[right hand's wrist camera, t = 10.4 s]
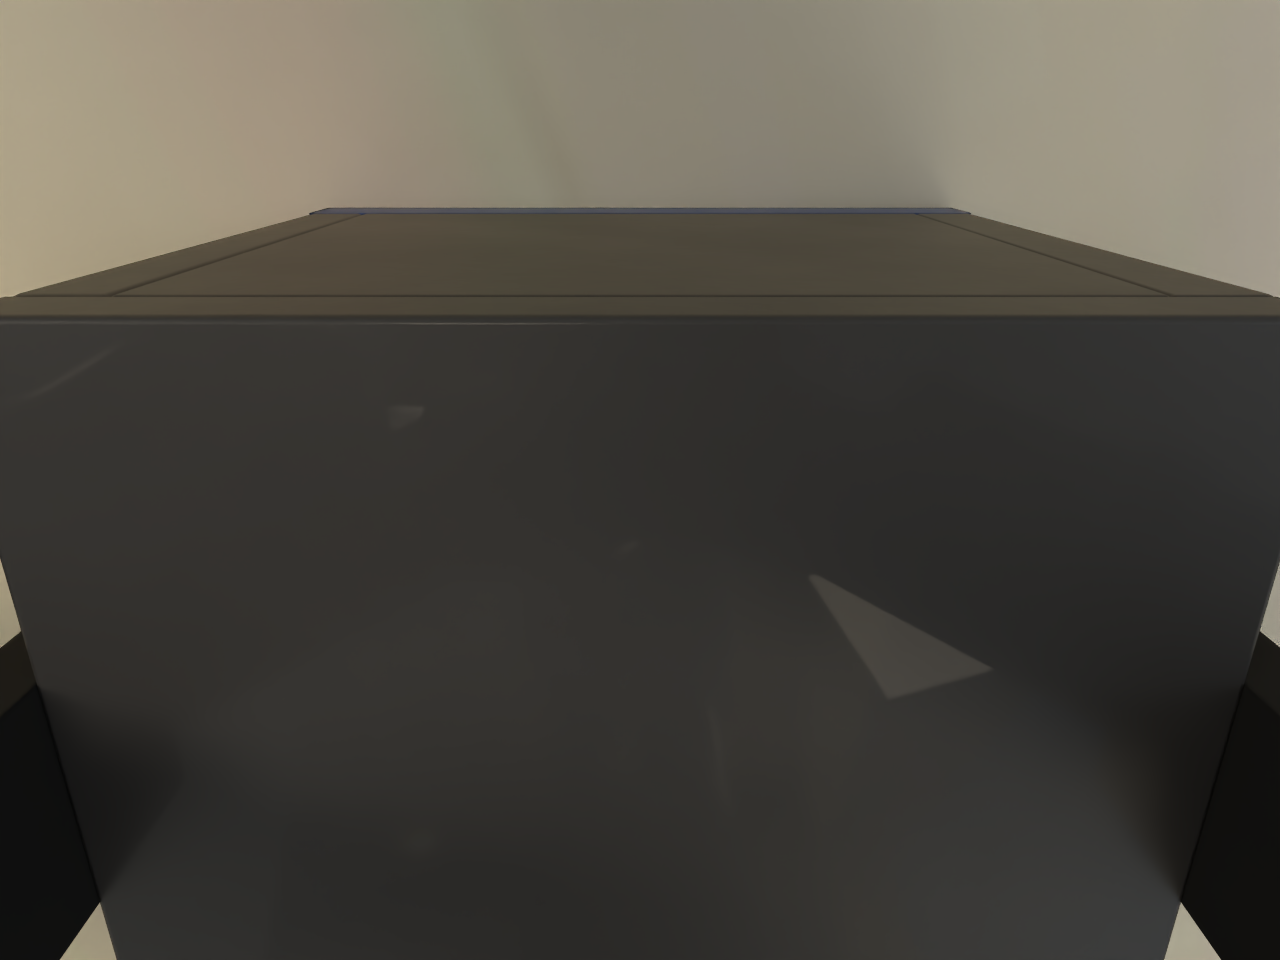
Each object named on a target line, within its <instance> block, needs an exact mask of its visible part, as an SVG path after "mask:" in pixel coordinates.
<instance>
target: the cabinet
mask: <svg viewBox="0 0 1280 960" xmlns="http://www.w3.org/2000/svg"><path fill="white" fill-rule="evenodd" d="M309 214H310V215H308V216H304V217H301V218H297V219H293V220H289V221H286V222H282V223H278V224H275V225H271V226H267V227H264V228H260V229H256V230H253V231H249V232H245V233H242V234H238V235H234V236H230V237H227V238H223V239H219V240H216V241H212V242H208V243H205V244H201V245H197V246H194V247H190V248H186V249H182V250H179V251H175V252H171V253H168V254H164V255H160V256H157V257H153V258H149V259H146V260H142V261H138V262H135V263H131V264H127V265H123V266H120V267H116V268H112V269H109V270H105V271H101V272H98V273H94V274H90V275H87V276H83V277H79V278H76V279H72V280H68V281H64V282H61V283H57V284H53V285H50V286H46V287H42V288H39V289H35V290H31V291H28V292H24V293H20V294H18V295H16V296H14V297H3V298H0V559H1V562H2V566H3V569H4V573H5V576H6V579H7V583H8V586H9V590H10V593H11V597H12V600H13V604H14V607H15V610H16V614H17V617H18V621H19V624H20V628H21V631H22V635H23V638H24V641H25V645H26V648H27V652H28V655H29V659H30V662H31V666H32V669H33V673H34V676H35V679H36V683H37V686H38V690H39V693H40V697H41V700H42V704H43V707H44V710H45V714H46V717H47V721H48V724H49V728H50V731H51V735H52V738H53V741H54V745H55V748H56V752H57V755H58V759H59V762H60V766H61V769H62V772H63V776H64V779H65V783H66V786H67V790H68V793H69V797H70V800H71V803H72V807H73V810H74V814H75V817H76V821H77V824H78V828H79V831H80V835H81V838H82V841H83V845H84V848H85V852H86V855H87V859H88V862H89V866H90V869H91V872H92V876H93V879H94V883H95V886H96V890H97V893H98V897H99V900H100V903H101V907H102V910H103V914H104V917H105V921H106V924H107V928H108V931H109V934H110V938H111V941H112V945H113V948H114V952H115V955H116V959H117V960H1164V958H1165V954H1166V951H1167V948H1168V944H1169V941H1170V937H1171V934H1172V930H1173V927H1174V923H1175V920H1176V917H1177V913H1178V910H1179V906H1180V903H1181V899H1182V896H1183V893H1184V889H1185V886H1186V882H1187V879H1188V875H1189V872H1190V868H1191V865H1192V862H1193V858H1194V855H1195V851H1196V848H1197V844H1198V841H1199V837H1200V834H1201V831H1202V827H1203V824H1204V820H1205V817H1206V813H1207V810H1208V807H1209V803H1210V800H1211V796H1212V793H1213V789H1214V786H1215V782H1216V779H1217V776H1218V772H1219V769H1220V765H1221V762H1222V758H1223V755H1224V752H1225V748H1226V745H1227V741H1228V738H1229V734H1230V731H1231V727H1232V724H1233V721H1234V717H1235V714H1236V710H1237V707H1238V703H1239V700H1240V696H1241V693H1242V690H1243V686H1244V683H1245V679H1246V676H1247V672H1248V669H1249V666H1250V662H1251V659H1252V655H1253V652H1254V648H1255V645H1256V641H1257V638H1258V635H1259V631H1260V628H1261V624H1262V621H1263V617H1264V614H1265V611H1266V607H1267V604H1268V600H1269V597H1270V593H1271V590H1272V586H1273V583H1274V580H1275V576H1276V573H1277V569H1278V566H1279V562H1280V298H1278V297H1273V296H1271V295H1269V294H1265V293H1262V292H1258V291H1254V290H1250V289H1247V288H1243V287H1239V286H1235V285H1232V284H1228V283H1224V282H1221V281H1217V280H1213V279H1209V278H1206V277H1202V276H1198V275H1194V274H1191V273H1187V272H1183V271H1180V270H1176V269H1172V268H1168V267H1165V266H1161V265H1157V264H1153V263H1150V262H1146V261H1142V260H1139V259H1135V258H1131V257H1127V256H1124V255H1120V254H1116V253H1113V252H1109V251H1105V250H1101V249H1098V248H1094V247H1090V246H1086V245H1083V244H1079V243H1075V242H1072V241H1068V240H1064V239H1060V238H1057V237H1053V236H1049V235H1045V234H1042V233H1038V232H1034V231H1031V230H1027V229H1023V228H1019V227H1016V226H1012V225H1008V224H1004V223H1001V222H997V221H993V220H990V219H986V218H982V217H978V216H975V215H971V213H969V212H965V211H961V210H957V209H953V208H327V209H323V210H319V211H315V212H312V213H309Z"/></svg>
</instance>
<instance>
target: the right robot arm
mask: <svg viewBox="0 0 1280 960" xmlns="http://www.w3.org/2000/svg"><path fill="white" fill-rule="evenodd" d="M99 903H100V900H99V897H98V893H97V890H96V886H95V883H94V879H93V876H92V872H91V869H90V866H89V862H88V859H87V855H86V852H85V848H84V845H83V841H82V838H81V835H80V831H79V828H78V824H77V821H76V817H75V814H74V810H73V807H72V803H71V800H70V797H69V793H68V790H67V786H66V783H65V779H64V776H63V772H62V769H61V766H60V762H59V759H58V755H57V752H56V748H55V745H54V741H53V738H52V735H51V731H50V728H49V724H48V721H47V717H46V714H45V710H44V707H43V704H42V700H41V697H40V693H39V690H38V686H37V683H36V679H35V676H34V673H33V669H32V666H31V662H30V659H29V655H28V652H27V648H26V645H25V641H24V638H23V635H22V631H21V632H20V633H18V634H17V635H16V636H15V637H14V638H12V639H11V640H10V641H9V642H7V643H6V644H5V645H4V646H3V647H1V648H0V960H60V959H61V957H62V956H63V954H64V953H65V951H66V950H67V949H68V947H69V946H70V944H71V943H72V941H73V940H74V939H75V937H76V936H77V934H78V933H79V931H80V930H81V928H82V927H83V926H84V924H85V923H86V921H87V920H88V918H89V917H90V916H91V914H92V913H93V911H94V910H95V908H96V907H97V906H98V904H99ZM1181 903H1182V904H1183V906H1184V907H1185V908H1186V910H1187V911H1188V913H1189V914H1190V916H1191V917H1192V918H1193V920H1194V921H1195V923H1196V924H1197V926H1198V927H1199V929H1200V930H1201V931H1202V933H1203V934H1204V936H1205V937H1206V939H1207V940H1208V941H1209V943H1210V944H1211V946H1212V947H1213V949H1214V950H1215V951H1216V953H1217V954H1218V956H1219V957H1220V959H1221V960H1280V647H1279V646H1277V645H1276V644H1275V643H1274V642H1272V641H1271V640H1270V639H1269V638H1268V637H1266V636H1265V635H1264V634H1263V633H1261V632H1260V631H1259V635H1258V638H1257V641H1256V645H1255V648H1254V652H1253V655H1252V659H1251V662H1250V666H1249V669H1248V672H1247V676H1246V679H1245V683H1244V686H1243V690H1242V693H1241V696H1240V700H1239V703H1238V707H1237V710H1236V714H1235V717H1234V721H1233V724H1232V727H1231V731H1230V734H1229V738H1228V741H1227V745H1226V748H1225V752H1224V755H1223V758H1222V762H1221V765H1220V769H1219V772H1218V776H1217V779H1216V782H1215V786H1214V789H1213V793H1212V796H1211V800H1210V803H1209V807H1208V810H1207V813H1206V817H1205V820H1204V824H1203V827H1202V831H1201V834H1200V837H1199V841H1198V844H1197V848H1196V851H1195V855H1194V858H1193V862H1192V865H1191V868H1190V872H1189V875H1188V879H1187V882H1186V886H1185V889H1184V893H1183V896H1182V899H1181Z"/></svg>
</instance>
